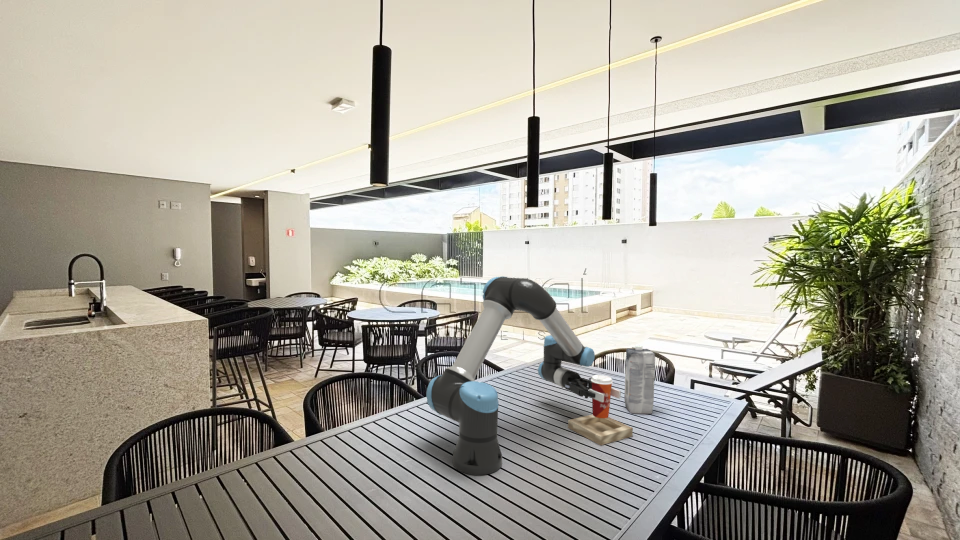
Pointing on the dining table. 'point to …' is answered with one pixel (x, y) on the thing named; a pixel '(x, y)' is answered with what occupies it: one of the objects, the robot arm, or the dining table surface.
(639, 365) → the juice carton
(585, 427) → the tray
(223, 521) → the dining table surface
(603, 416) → the paper cup
